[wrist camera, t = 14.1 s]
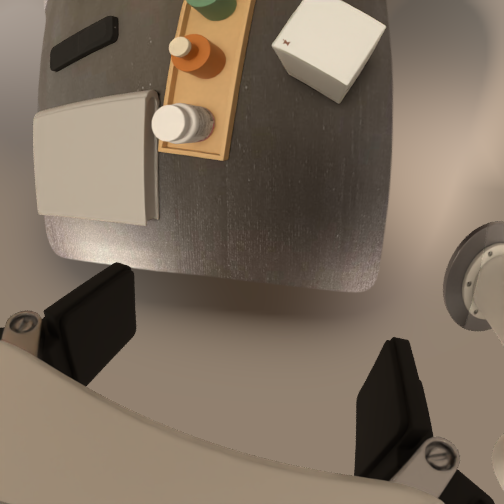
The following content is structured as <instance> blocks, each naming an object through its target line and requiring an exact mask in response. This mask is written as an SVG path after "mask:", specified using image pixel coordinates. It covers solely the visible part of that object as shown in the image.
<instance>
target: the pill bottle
mask: <svg viewBox="0 0 504 504" xmlns="http://www.w3.org/2000/svg"><path fill="white" fill-rule="evenodd" d="M214 127H215V120H214V116H213V114H212V113H211V112H210V111H209V110H208V109H206V108H204V107H201V106H195V105H190V104H185V103H175V104H172V105H165V106H162V107H161V108H159V109H158V110H157V111H156V112H155V114H154V116H153V118H152V130H153V133H154V134H155V136H156V137H157V138H158V139H160V140H162V141H166V142H170V143H173V144H184V143H195V142H201V141H204V140H206V139H207V138H209V137H210V135H211V134H212V132H213V130H214Z"/></svg>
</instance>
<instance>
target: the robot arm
mask: <svg viewBox="0 0 504 504" xmlns="http://www.w3.org/2000/svg"><path fill="white" fill-rule="evenodd" d="M462 298H463V302H464V304H465V306H466V308H467V310H468V311H469V312H470V313H471V314H472V315H473V316H474V317H476V318H479V319H486V320H487V322H488V323H489V325H490V326H491V328H492V329H493V331H494V332H495V334H496V335H497V337H498V338H499V340H500V342H501V343H502V345H503V346H504V243H496V244H493V245H490V246H488V247H486V248H485V249H483V250H482V251H481V252H480V253H479V254H478V255H476V257H475V258H474V259H473V260H472V262H471V263H470V265H469V267H468V268H467V271H466V273H465V276H464V279H463V283H462ZM44 314H45V317H44V318H43V319H41V317H40V315H39V314H37V313H36V312H33V311H21V312H18V313H15V314H14V315H12V316H11V317H10V318H9V319H8V320H7V322H6V325H5V327H4V328H0V504H495V503H494V501H493V500H492V499H491V497H490V496H488V495H487V494H486V493H485V492H484V491H483V490H481V489H480V488H479V487H478V486H477V485H475V484H474V483H473V482H472V481H471V480H469V479H468V478H467V477H466V476H465V475H463V474H462V473H461V472H460V471H459V470H457V468H458V466H459V463H460V455H459V452H458V450H457V448H456V447H455V445H454V444H453V443H452V442H450V441H449V440H447V439H445V438H442V437H433V432H432V427H431V422H430V417H429V412H428V407H427V403H426V398H425V394H424V389H423V386H422V382H421V381H420V380H419V377H418V373H417V369H416V365H415V361H414V357H413V354H412V350H411V346H410V343H409V341H408V340H405V339H400V338H396V337H393V338H392V339H391V340H390V341H389V340H387V341H386V342H385V344H384V345H383V348H382V350H381V352H380V354H379V356H378V358H377V360H376V362H375V364H374V366H373V368H372V370H371V371H370V373H369V375H368V377H367V379H366V381H365V383H364V385H363V386H362V388H361V390H360V392H359V394H358V397H357V402H356V403H357V404H356V413H357V414H356V450H355V451H356V452H355V470H354V476H352V475H343V474H338V473H332V472H326V471H320V470H315V469H310V468H305V467H300V466H295V465H290V464H286V463H281V462H277V461H273V460H269V459H265V458H261V457H257V456H254V455H250V454H246V453H243V452H240V451H236V450H233V449H230V448H226V447H223V446H220V445H217V444H214V443H211V442H208V441H205V440H203V439H200V438H197V437H194V436H192V435H189V434H186V433H184V432H181V431H178V430H176V429H173V428H171V427H168V426H166V425H163V424H161V423H159V422H156V421H154V420H152V419H150V418H147V417H145V416H143V415H141V414H139V413H136V412H134V411H132V410H130V409H128V408H126V407H124V406H122V405H120V404H117V403H116V402H114V401H112V400H110V399H108V398H106V397H104V396H102V395H100V394H98V393H96V392H95V391H93V390H91V389H89V388H87V387H86V386H87V385H88V384H89V383H90V382H91V381H92V380H93V379H94V377H95V376H96V375H97V374H98V373H99V372H100V371H101V370H102V369H103V368H104V367H105V366H106V364H108V363H109V361H110V360H111V359H112V358H113V357H114V356H115V355H116V354H117V353H118V352H119V351H120V350H121V349H122V348H123V347H124V346H125V344H127V342H129V340H130V339H131V338H132V337H133V336H134V334H135V332H136V315H135V289H134V273H133V271H131V268H130V267H129V266H127V265H124V264H121V263H118V262H116V263H114V264H112V265H111V266H109V267H108V268H106V269H104V270H103V271H102V272H100V273H98V274H97V275H95V276H94V277H92V278H91V279H89V280H88V281H86V282H85V283H83V284H82V285H80V286H79V287H77V288H76V289H74V290H73V291H71V292H70V293H68V294H67V295H66V296H64V297H63V298H61V299H60V300H58V301H57V302H55V303H54V304H53V305H51V306H50V307H48V308H47V309H46V310H44ZM492 465H493V470H494V472H495V475H496V478H497V480H498V482H499V484H500V486H501V487H502V489H503V491H504V433H503V434H502V435H501V437H500V438H499V439H498V441H497V442H496V444H495V446H494V449H493V452H492Z"/></svg>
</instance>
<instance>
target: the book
mask: <svg viewBox="0 0 504 504" xmlns="http://www.w3.org/2000/svg"><path fill="white" fill-rule="evenodd" d="M159 107H160V100H159V98H158V94H157V92H156V91H154V90H147V91H139V92H131V93H124V94H118V95H112V96H106V97H100V98H95V99H90V100H85V101H80V102H75V103H71V104H67V105H62V106H58V107H54V108H50V109H46V110H43V111H40V112H38V113H37V114H36V115H35V118H34V120H33V144H34V145H33V148H34V172H35V184H36V185H35V186H36V197H37V206H38V214H41V215H51V216H61V217H70V218H80V219H89V220H98V221H107V222H116V223H125V224H134V225H143V226H147V221H148V220H150V219H159V190H158V140H159V139H158V138H157V137H156V136H155V134H154V133H153V130H152V118H153V116H154V114H155V112H156V111H157V110H158V109H159Z"/></svg>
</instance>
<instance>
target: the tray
mask: <svg viewBox="0 0 504 504" xmlns="http://www.w3.org/2000/svg"><path fill="white" fill-rule="evenodd" d="M236 1H237V6H236V9H235V11H234V12H233V14H232V15H230V16H229V17H228V18H226V19H224V20H220V21H211V20H208V19H207V18H205V17H204V16H203V15H202V14H200V13H199V12H198V11H197V10H196V9H194V8H193V7H192V6H191V5H189V4H188V3H187V1H186V0H184V1H183V5H182V9H181V14H180V18H179V22H178V27H177V32H176V36H175V38H177V37H184V36H186V35H189V34H199V35H202V36H204V37H205V38H207V39H208V40H209V41H211V42H212V43H213V44H215V45H216V46H218V47H219V48H220V49H221V50H222V51H223V52H224V54H225V57H226V62H225V66H224V68H223V70H222V71H221V72H220V73H219V74H218V75H217V76H215V77H213V78H210V79H201V78H199V77H196V76H194V75H191V74H188V73H186V72H183V71H181V70H179V69H177V68H176V67H175V66H174V64H173V62H172V59H171V62H170V68H169V73H168V79H167V85H166V92H165V98H164V105H163V106H165V105H172V104H175V103H185V104H190V105H195V106H201V107H204V108H206V109H208V110H209V111H210V112H211V113H212V114H213V116H214V120H215V127H214V130H213V132H212V134H211V135H210V137H209V138H207V139H206V140H204V141H201V142H195V143H184V144H173V143H170V142H166V141H162V140H160V139H159V145H158V152H165V153H173V154H180V155H188V156H195V157H202V158H208V159H215V160H221V161H224V160H228V158H229V151H230V144H231V138H232V131H233V125H234V118H235V112H236V106H237V100H238V94H239V88H240V82H241V76H242V70H243V65H244V59H245V53H246V48H247V42H248V37H249V32H250V26H251V21H252V16H253V11H254V6H255V1H256V0H236Z"/></svg>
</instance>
